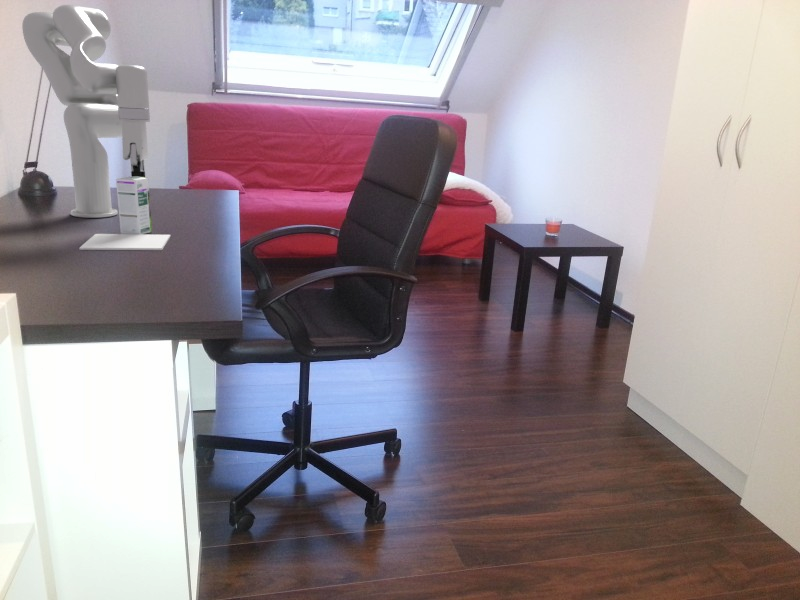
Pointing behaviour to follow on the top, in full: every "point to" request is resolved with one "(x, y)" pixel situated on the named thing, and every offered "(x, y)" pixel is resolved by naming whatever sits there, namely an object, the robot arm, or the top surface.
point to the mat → (125, 242)
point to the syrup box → (134, 205)
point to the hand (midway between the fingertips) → (139, 186)
